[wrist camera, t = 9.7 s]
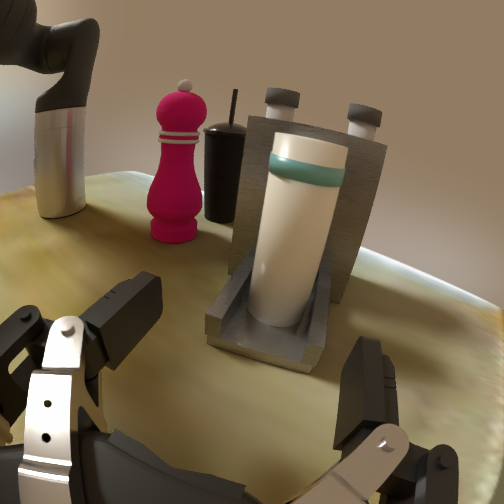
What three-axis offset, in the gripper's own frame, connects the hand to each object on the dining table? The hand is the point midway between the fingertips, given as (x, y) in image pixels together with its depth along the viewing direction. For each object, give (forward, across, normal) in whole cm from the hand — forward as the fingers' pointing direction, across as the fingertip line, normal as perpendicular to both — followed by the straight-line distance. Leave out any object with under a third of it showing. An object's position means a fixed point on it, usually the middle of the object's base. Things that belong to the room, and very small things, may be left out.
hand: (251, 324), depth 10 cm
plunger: (+19, +4, -4) cm, 20 cm away
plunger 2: (+19, -4, -4) cm, 20 cm away
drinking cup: (+30, +13, +9) cm, 34 cm away
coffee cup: (+11, 0, +8) cm, 14 cm away
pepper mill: (+21, +16, +9) cm, 28 cm away
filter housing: (+14, 0, +9) cm, 17 cm away
